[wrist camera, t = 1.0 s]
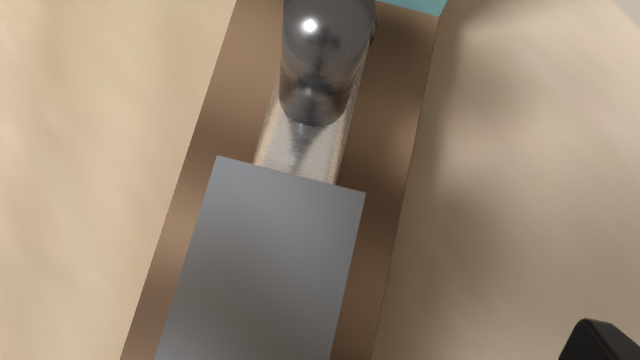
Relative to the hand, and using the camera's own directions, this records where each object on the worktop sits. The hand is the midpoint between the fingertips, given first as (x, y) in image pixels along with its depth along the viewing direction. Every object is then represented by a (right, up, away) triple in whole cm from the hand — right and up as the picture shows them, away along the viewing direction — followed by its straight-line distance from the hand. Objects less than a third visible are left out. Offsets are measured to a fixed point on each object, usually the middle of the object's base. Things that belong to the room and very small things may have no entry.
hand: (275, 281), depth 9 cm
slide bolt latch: (-1, +1, +15) cm, 14 cm away
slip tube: (0, +1, +12) cm, 12 cm away
